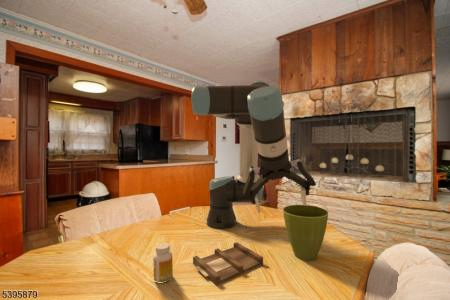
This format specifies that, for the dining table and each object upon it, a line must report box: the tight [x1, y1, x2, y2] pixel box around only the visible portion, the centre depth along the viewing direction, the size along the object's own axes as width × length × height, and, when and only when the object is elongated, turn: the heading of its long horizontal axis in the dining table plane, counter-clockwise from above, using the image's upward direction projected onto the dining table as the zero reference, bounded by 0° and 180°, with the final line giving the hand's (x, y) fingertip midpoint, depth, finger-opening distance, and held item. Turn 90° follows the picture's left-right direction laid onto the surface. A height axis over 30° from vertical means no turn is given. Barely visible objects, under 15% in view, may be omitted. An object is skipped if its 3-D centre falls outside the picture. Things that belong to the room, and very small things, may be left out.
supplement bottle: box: [152, 242, 174, 282], centre depth 64 cm, size 5×5×10 cm
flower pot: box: [282, 204, 329, 261], centre depth 76 cm, size 15×15×16 cm
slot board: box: [192, 241, 264, 286], centre depth 71 cm, size 14×20×2 cm
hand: (280, 205), depth 66 cm, fingers open, 13 cm apart
